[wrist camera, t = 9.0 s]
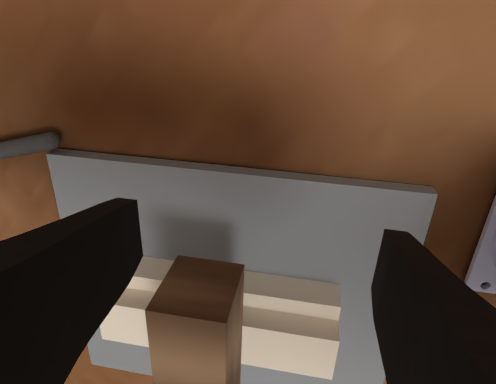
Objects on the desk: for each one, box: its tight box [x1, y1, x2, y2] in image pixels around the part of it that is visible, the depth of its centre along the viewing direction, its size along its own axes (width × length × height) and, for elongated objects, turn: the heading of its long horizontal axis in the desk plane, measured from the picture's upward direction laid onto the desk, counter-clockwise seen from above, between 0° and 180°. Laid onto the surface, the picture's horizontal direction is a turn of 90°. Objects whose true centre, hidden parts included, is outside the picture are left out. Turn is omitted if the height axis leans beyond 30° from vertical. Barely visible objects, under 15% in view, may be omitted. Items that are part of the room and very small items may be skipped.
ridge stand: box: [46, 149, 438, 384], centre depth 23 cm, size 22×18×4 cm
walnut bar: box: [145, 255, 245, 384], centre depth 20 cm, size 12×4×4 cm, turn 178°
